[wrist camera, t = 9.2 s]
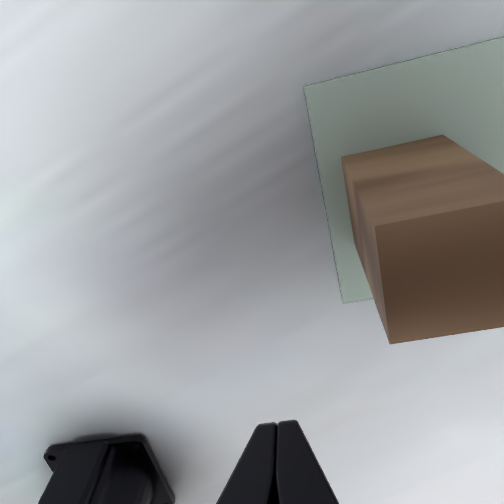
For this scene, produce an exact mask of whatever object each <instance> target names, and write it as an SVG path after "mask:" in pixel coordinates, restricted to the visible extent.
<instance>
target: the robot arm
mask: <svg viewBox="0 0 504 504" xmlns="http://www.w3.org/2000/svg"><path fill="white" fill-rule="evenodd" d="M44 459H45V461H46V462H47V464H48V465H49V467H50V468H51V470H52V471H53V475H52V477H51V479H50V481H49V483H48V485H47V487H46V489H45V490H44V492H43V494H42V496H41V498H40V500H39V502H38V504H175V498H174V496H173V494H172V492H171V490H170V488H169V486H168V484H167V482H166V480H165V478H164V476H163V474H162V472H161V470H160V468H159V466H158V463H157V461H156V459H155V457H154V455H153V453H152V451H151V449H150V447H149V445H148V443H147V441H146V440H145V438H143V437H142V436H139V435H134V436H127V437H119V438H112V439H105V440H97V441H90V442H83V443H75V444H68V445H60V446H53V447H49V448H48V449H47V450H46V452H45V454H44ZM216 504H339V502H338V500H337V498H336V496H335V494H334V492H333V490H332V488H331V486H330V484H329V482H328V480H327V478H326V476H325V474H324V472H323V470H322V468H321V467H320V465H319V463H318V461H317V459H316V457H315V455H314V453H313V451H312V449H311V447H310V445H309V443H308V441H307V439H306V437H305V435H304V433H303V431H302V429H301V427H300V425H299V423H298V421H296V420H288V421H281V422H279V423H278V425H277V423H275V422H272V423H264V424H259V425H258V426H257V427H256V428H255V430H254V432H253V434H252V436H251V438H250V440H249V442H248V444H247V446H246V448H245V449H244V451H243V453H242V455H241V457H240V459H239V461H238V463H237V465H236V467H235V469H234V470H233V472H232V474H231V476H230V478H229V480H228V482H227V484H226V486H225V488H224V490H223V492H222V493H221V495H220V497H219V499H218V501H217V503H216Z"/></svg>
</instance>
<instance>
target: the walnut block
mask: <svg viewBox="0 0 504 504" xmlns="http://www.w3.org/2000/svg"><path fill="white" fill-rule="evenodd" d="M341 161H342V167H343V173H344V180H345V186H346V193H347V199H348V206H349V212H350V218H351V225H352V231H353V238H354V244H355V247H356V250H357V253H358V255H359V258H360V261H361V264H362V267H363V270H364V272H365V275H366V278H367V281H368V284H369V287H370V289H371V292H372V295H373V298H374V301H375V304H376V306H377V309H378V312H379V315H380V318H381V320H382V323H383V326H384V329H385V332H386V335H387V337H388V340H389V343H390V344H395V343H402V342H408V341H415V340H421V339H428V338H434V337H441V336H447V335H454V334H460V333H467V332H474V331H480V330H487V329H493V328H500V327H504V174H503V173H501V172H500V171H498V170H497V169H495V168H494V167H492V166H491V165H489V164H488V163H486V162H485V161H483V160H481V159H480V158H478V157H477V156H475V155H474V154H472V153H471V152H469V151H468V150H466V149H465V148H463V147H461V146H460V145H458V144H457V143H455V142H454V141H452V140H451V139H449V138H448V137H446V136H445V135H439V136H434V137H430V138H425V139H421V140H416V141H412V142H407V143H403V144H398V145H394V146H389V147H384V148H380V149H375V150H371V151H366V152H362V153H357V154H353V155H348V156H344V157H341Z"/></svg>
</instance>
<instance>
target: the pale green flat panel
mask: <svg viewBox="0 0 504 504" xmlns="http://www.w3.org/2000/svg"><path fill="white" fill-rule="evenodd" d="M304 92H305V98H306V103H307V109H308V114H309V120H310V125H311V131H312V136H313V142H314V147H315V153H316V158H317V164H318V169H319V175H320V180H321V186H322V191H323V197H324V202H325V208H326V213H327V218H328V224H329V229H330V235H331V240H332V246H333V251H334V257H335V262H336V268H337V273H338V279H339V284H340V290H341V295H342V301H343V304H345V303H350V302H356V301H362V300H368V299H374V298H373V295H372V292H371V289H370V287H369V284H368V281H367V278H366V275H365V272H364V270H363V267H362V264H361V261H360V258H359V255H358V253H357V250H356V247H355V244H354V238H353V231H352V225H351V218H350V212H349V206H348V199H347V193H346V186H345V180H344V173H343V167H342V161H341V157H344V156H348V155H353V154H357V153H362V152H366V151H371V150H375V149H380V148H384V147H389V146H394V145H398V144H403V143H407V142H412V141H416V140H421V139H425V138H430V137H434V136H439V135H445V136H446V137H448V138H449V139H451V140H452V141H454V142H455V143H457V144H458V145H460V146H461V147H463V148H465V149H466V150H468V151H469V152H471V153H472V154H474V155H475V156H477V157H478V158H480V159H481V160H483V161H485V162H486V163H488V164H489V165H491V166H492V167H494V168H495V169H497V170H498V171H500V172H501V173H503V174H504V37H500V38H496V39H492V40H488V41H484V42H480V43H476V44H472V45H468V46H464V47H460V48H456V49H452V50H448V51H444V52H440V53H436V54H432V55H428V56H424V57H420V58H416V59H412V60H408V61H404V62H400V63H396V64H392V65H388V66H384V67H380V68H376V69H372V70H368V71H364V72H360V73H356V74H352V75H348V76H344V77H340V78H336V79H332V80H328V81H324V82H320V83H316V84H312V85H308V86H304Z"/></svg>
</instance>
